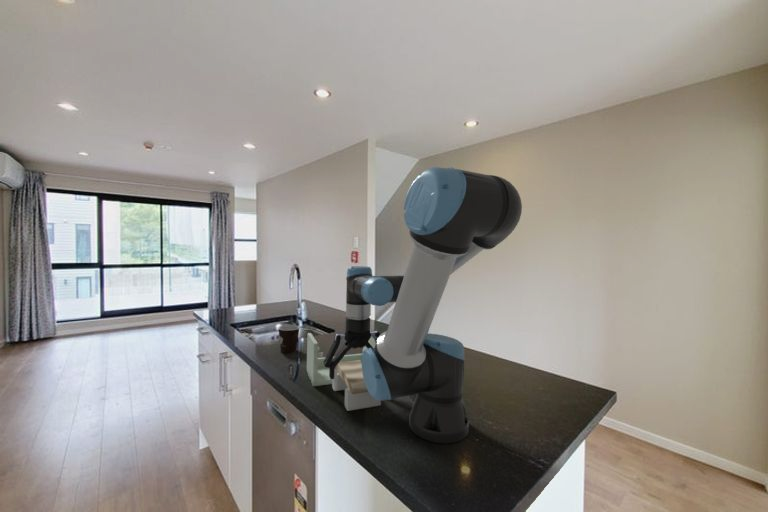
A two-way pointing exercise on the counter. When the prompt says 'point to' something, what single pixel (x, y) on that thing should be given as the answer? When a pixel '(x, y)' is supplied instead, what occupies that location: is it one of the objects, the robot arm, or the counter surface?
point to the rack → (355, 397)
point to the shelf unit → (316, 366)
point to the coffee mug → (288, 338)
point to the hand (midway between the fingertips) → (356, 386)
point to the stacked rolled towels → (352, 376)
